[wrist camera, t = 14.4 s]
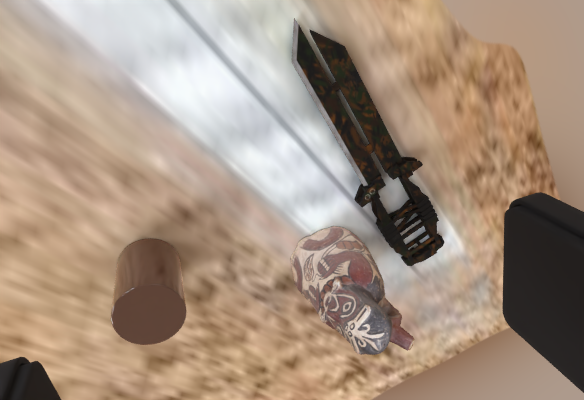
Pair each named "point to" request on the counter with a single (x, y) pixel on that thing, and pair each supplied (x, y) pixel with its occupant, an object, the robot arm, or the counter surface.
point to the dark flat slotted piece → (359, 152)
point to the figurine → (347, 290)
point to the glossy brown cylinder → (148, 293)
